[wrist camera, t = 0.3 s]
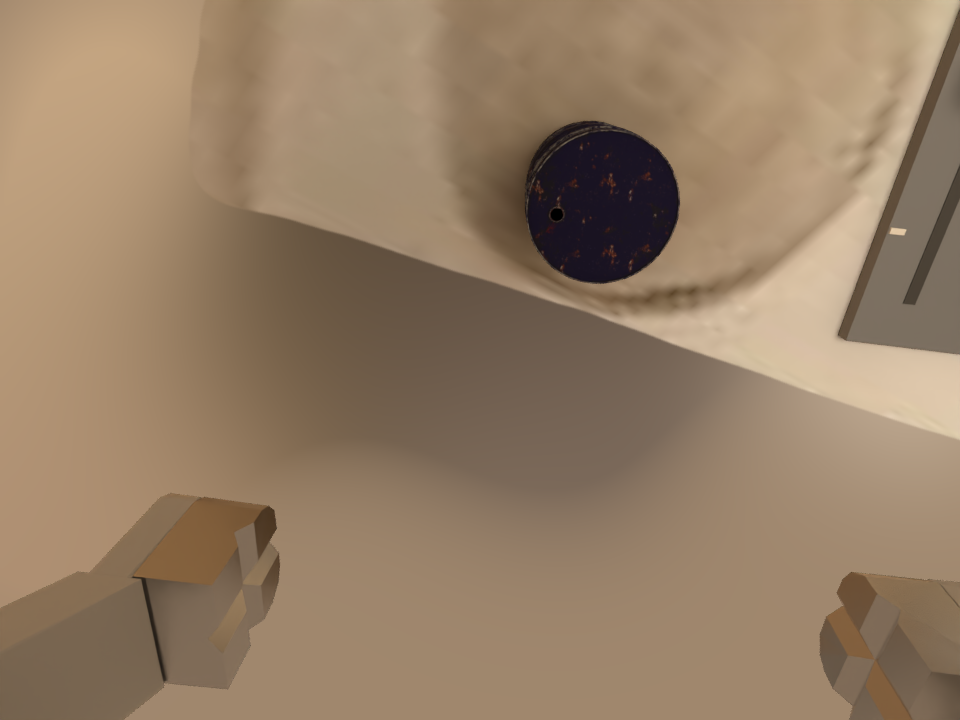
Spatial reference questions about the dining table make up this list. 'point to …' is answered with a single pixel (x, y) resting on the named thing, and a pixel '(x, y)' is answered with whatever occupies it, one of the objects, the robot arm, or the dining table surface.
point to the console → (918, 234)
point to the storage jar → (600, 202)
